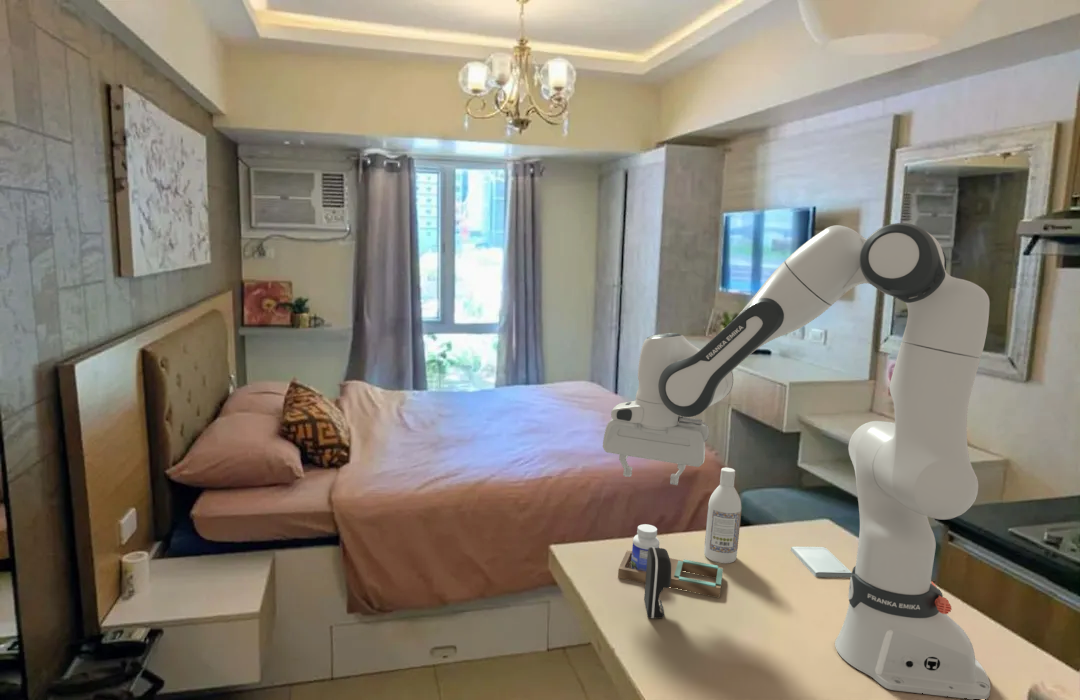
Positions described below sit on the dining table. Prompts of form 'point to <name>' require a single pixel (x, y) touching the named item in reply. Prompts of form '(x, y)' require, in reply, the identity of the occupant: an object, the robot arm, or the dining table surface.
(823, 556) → the hard drive
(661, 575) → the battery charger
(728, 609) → the dining table surface
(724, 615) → the dining table surface
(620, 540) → the dining table surface
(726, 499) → the bath foam
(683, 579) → the wooden frame
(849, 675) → the dining table surface
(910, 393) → the robot arm
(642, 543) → the pill bottle
